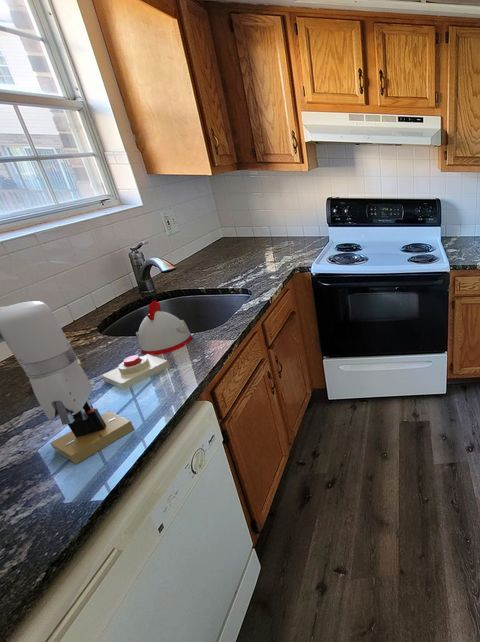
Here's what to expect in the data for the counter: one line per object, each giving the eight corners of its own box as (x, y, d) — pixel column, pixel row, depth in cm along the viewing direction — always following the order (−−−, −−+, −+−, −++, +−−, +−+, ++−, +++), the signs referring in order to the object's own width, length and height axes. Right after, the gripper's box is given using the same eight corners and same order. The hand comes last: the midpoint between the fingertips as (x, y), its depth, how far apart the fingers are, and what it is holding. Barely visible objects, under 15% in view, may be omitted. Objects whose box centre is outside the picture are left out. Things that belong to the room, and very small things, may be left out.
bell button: (129, 368, 102) (127, 363, 102) (122, 365, 104) (120, 360, 103) (143, 361, 105) (141, 356, 105) (136, 359, 107) (134, 354, 106)
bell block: (124, 390, 99) (118, 378, 98) (104, 381, 103) (98, 370, 101) (170, 366, 109) (165, 355, 107) (150, 359, 113) (145, 348, 111)
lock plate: (76, 464, 77) (70, 455, 75) (54, 451, 80) (48, 442, 79) (135, 429, 86) (130, 420, 84) (113, 418, 89) (108, 410, 88)
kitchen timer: (197, 331, 129) (183, 292, 123) (184, 350, 117) (168, 308, 111) (151, 337, 125) (134, 298, 119) (133, 358, 114) (113, 316, 107)
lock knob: (75, 437, 80) (64, 419, 78) (77, 433, 81) (66, 415, 79) (104, 429, 82) (94, 411, 80) (106, 425, 83) (96, 407, 81)
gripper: (42, 348, 78) (81, 414, 86) (4, 387, 66) (53, 461, 74) (87, 339, 82) (120, 404, 89) (58, 375, 69) (101, 447, 77)
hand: (90, 429), depth 82 cm, fingers closed
